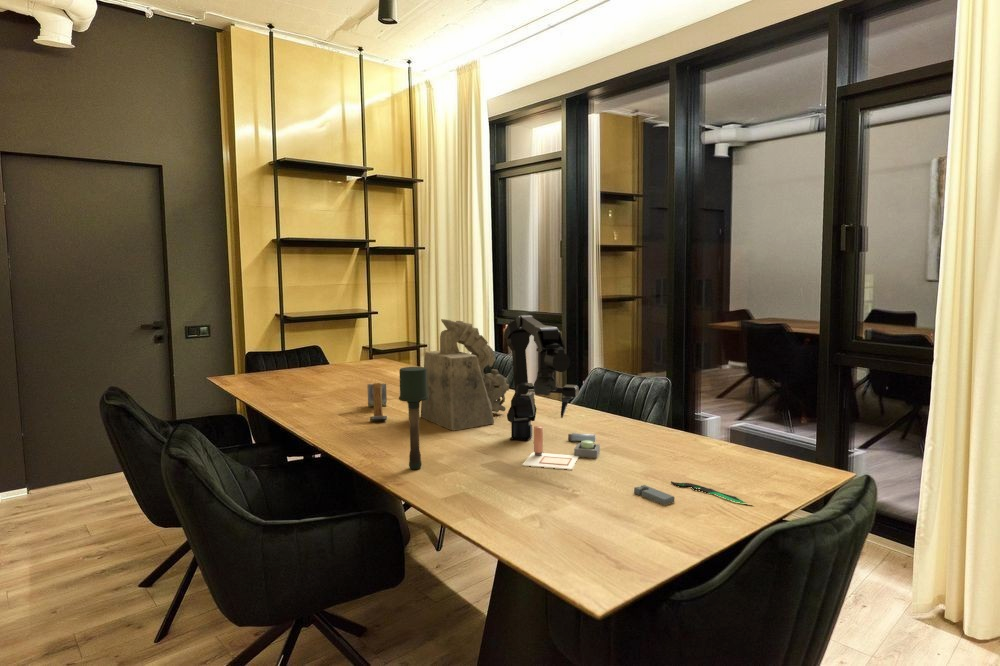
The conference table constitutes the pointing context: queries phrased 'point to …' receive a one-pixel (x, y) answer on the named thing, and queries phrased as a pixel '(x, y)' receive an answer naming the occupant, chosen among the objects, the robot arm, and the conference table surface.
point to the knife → (708, 491)
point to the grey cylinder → (581, 437)
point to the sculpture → (462, 380)
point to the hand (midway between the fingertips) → (547, 416)
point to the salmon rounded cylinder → (538, 440)
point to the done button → (587, 444)
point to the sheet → (551, 461)
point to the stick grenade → (413, 406)
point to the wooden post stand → (377, 400)
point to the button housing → (587, 451)
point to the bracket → (654, 494)
